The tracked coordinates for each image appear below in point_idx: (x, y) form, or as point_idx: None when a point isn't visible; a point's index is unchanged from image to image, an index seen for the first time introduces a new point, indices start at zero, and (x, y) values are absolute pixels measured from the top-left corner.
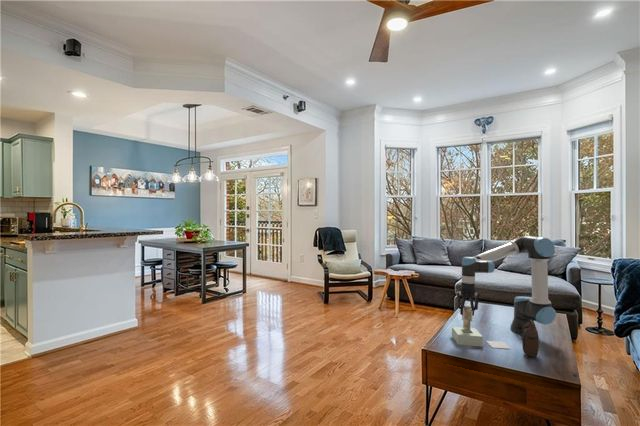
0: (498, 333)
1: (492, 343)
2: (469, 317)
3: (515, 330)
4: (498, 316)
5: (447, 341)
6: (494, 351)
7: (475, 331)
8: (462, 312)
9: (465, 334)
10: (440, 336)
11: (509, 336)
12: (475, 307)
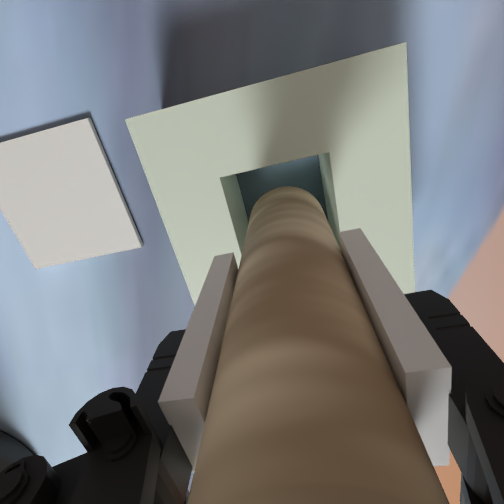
0: (87, 399)
1: (95, 207)
2: (254, 266)
3: (4, 446)
4: None
5: (452, 111)
6: (63, 33)
7: (200, 249)
8: (428, 331)
9: (309, 101)
10: (485, 214)
11: (27, 376)
12: None
